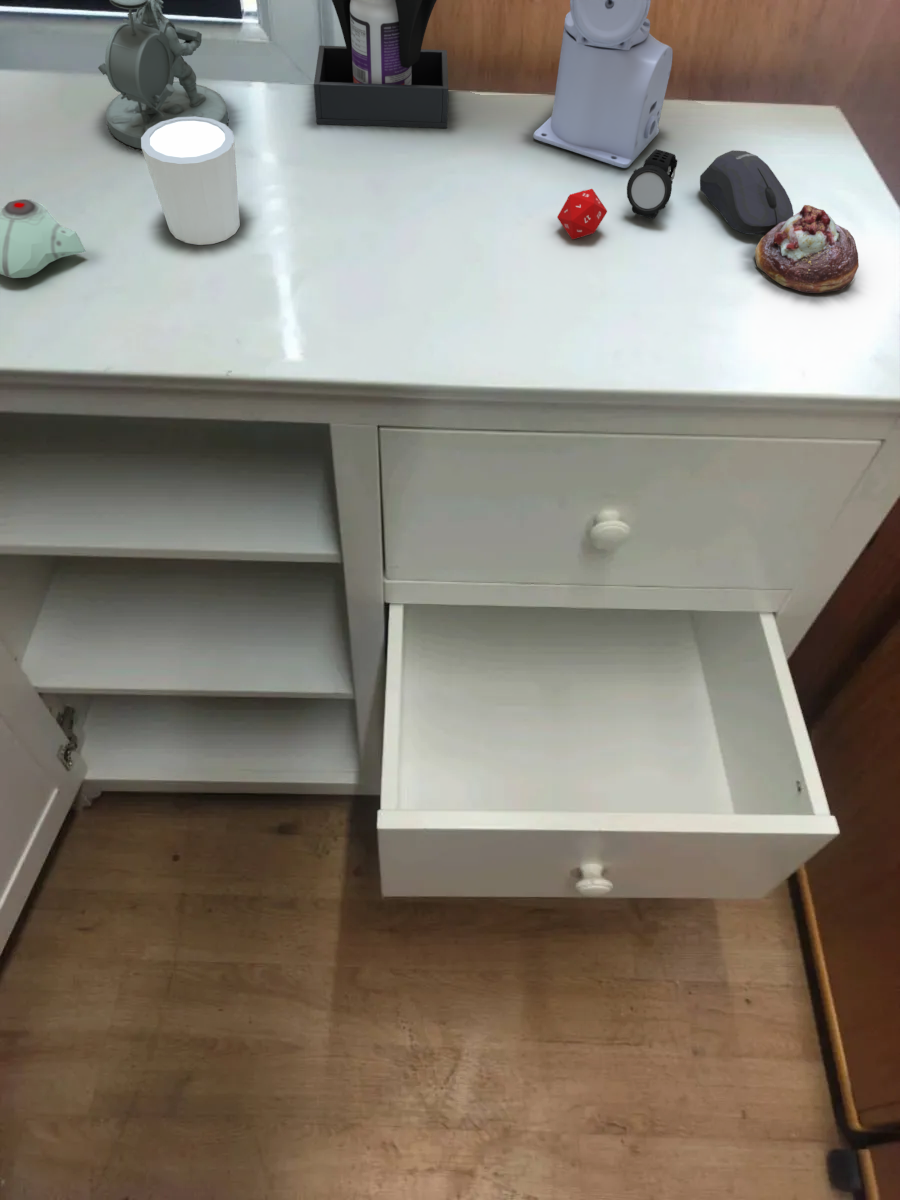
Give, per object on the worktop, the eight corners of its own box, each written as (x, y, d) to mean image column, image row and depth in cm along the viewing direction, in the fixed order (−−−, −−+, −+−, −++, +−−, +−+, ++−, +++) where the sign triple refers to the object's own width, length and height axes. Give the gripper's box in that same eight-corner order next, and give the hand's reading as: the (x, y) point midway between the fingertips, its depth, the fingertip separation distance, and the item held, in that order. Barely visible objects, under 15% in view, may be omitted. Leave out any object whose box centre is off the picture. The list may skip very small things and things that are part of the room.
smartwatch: (612, 213, 75) (624, 154, 71) (653, 193, 77) (666, 135, 73) (649, 235, 73) (663, 177, 69) (689, 214, 75) (705, 156, 71)
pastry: (737, 267, 71) (758, 208, 67) (778, 228, 75) (800, 170, 71) (830, 308, 68) (857, 250, 64) (867, 266, 72) (895, 208, 68)
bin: (445, 88, 86) (447, 49, 83) (446, 128, 82) (448, 88, 79) (322, 84, 86) (319, 45, 83) (316, 124, 81) (313, 84, 79)
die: (546, 208, 73) (567, 185, 69) (581, 199, 74) (604, 176, 70) (560, 250, 73) (583, 230, 69) (595, 240, 74) (619, 220, 71)
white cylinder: (144, 236, 70) (121, 148, 64) (190, 193, 74) (172, 106, 68) (220, 258, 69) (203, 170, 63) (263, 213, 73) (251, 127, 67)
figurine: (248, 107, 83) (227, -43, 73) (190, 163, 77) (158, 7, 67) (149, 84, 84) (115, -66, 75) (84, 136, 78) (38, -19, 69)
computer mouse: (741, 245, 73) (757, 199, 69) (684, 186, 77) (697, 140, 74) (799, 233, 74) (817, 187, 71) (739, 176, 79) (754, 131, 76)
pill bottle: (414, 77, 84) (415, -43, 76) (407, 104, 81) (408, -18, 73) (358, 71, 84) (353, -49, 76) (348, 99, 81) (343, -24, 73)
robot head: (67, 301, 66) (97, 241, 69) (49, 256, 62) (82, 195, 66) (-38, 285, 66) (-3, 226, 69) (-62, 239, 63) (-24, 179, 66)
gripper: (272, -141, 69) (290, 49, 80) (432, -99, 65) (428, 94, 76) (323, -163, 73) (334, 21, 84) (478, -125, 69) (468, 62, 80)
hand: (382, 54), depth 80 cm, fingers closed on pill bottle, 5 cm apart
